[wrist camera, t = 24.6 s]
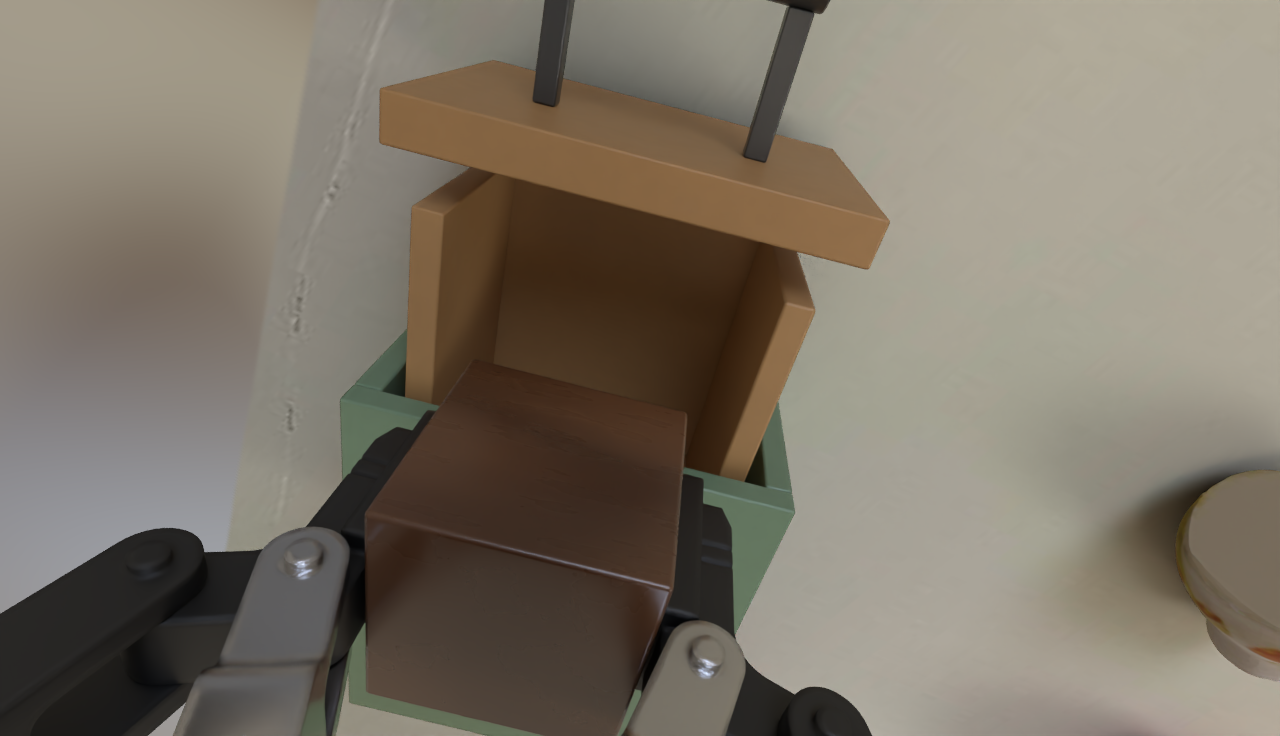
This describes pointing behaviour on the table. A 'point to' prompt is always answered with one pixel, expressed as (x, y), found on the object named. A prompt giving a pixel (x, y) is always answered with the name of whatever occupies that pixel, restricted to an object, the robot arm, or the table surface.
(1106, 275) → the table surface
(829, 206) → the drawer
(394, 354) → the cabinet
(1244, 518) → the mug
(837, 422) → the table surface
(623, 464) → the block
